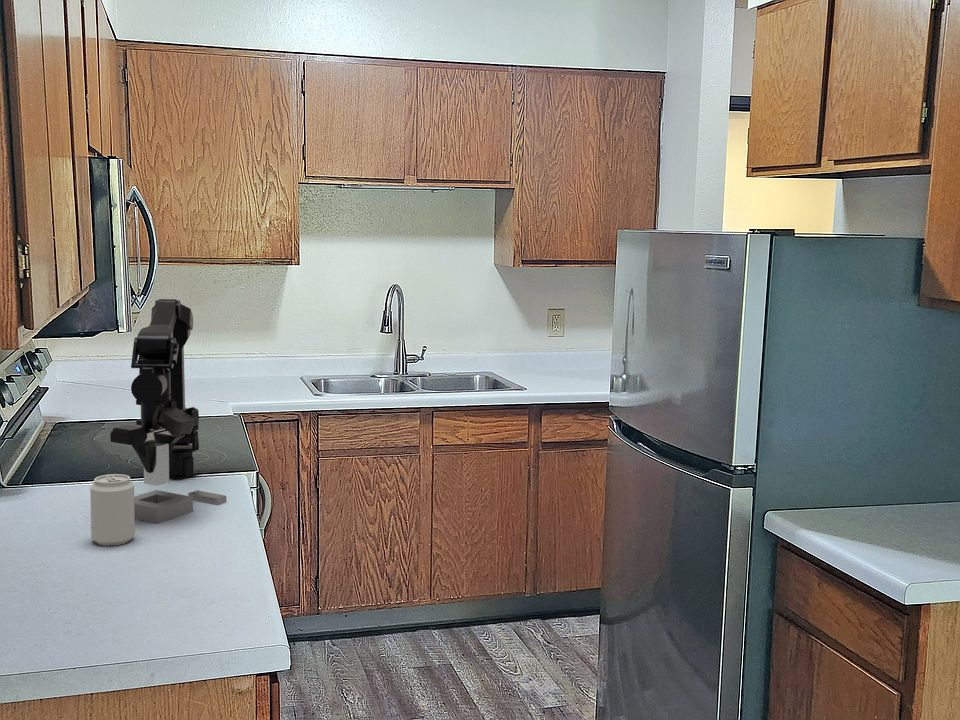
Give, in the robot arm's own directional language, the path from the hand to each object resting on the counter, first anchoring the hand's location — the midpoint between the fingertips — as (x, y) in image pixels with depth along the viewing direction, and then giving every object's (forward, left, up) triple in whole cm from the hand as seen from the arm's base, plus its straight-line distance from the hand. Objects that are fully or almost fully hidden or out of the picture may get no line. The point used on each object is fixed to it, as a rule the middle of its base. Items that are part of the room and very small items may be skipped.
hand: (156, 470), depth 194 cm
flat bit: (+2, +12, -9) cm, 16 cm away
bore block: (0, 0, -9) cm, 9 cm away
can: (+6, -17, -9) cm, 20 cm away
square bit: (0, 0, -3) cm, 2 cm away
